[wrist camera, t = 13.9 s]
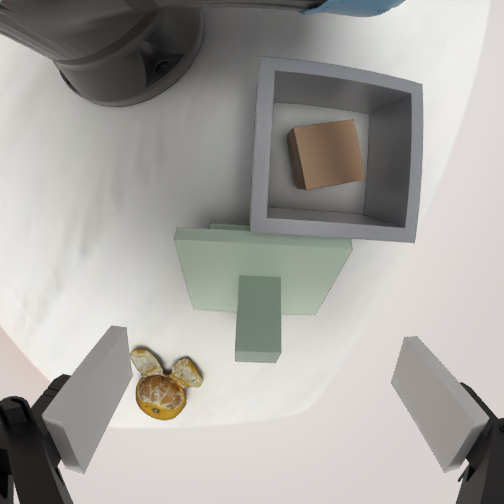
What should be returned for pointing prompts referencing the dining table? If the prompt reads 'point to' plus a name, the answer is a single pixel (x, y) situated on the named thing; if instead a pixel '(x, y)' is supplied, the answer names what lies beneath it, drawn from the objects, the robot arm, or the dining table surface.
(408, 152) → the storage box
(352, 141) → the block
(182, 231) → the lid
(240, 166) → the dining table surface
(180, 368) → the fruit
